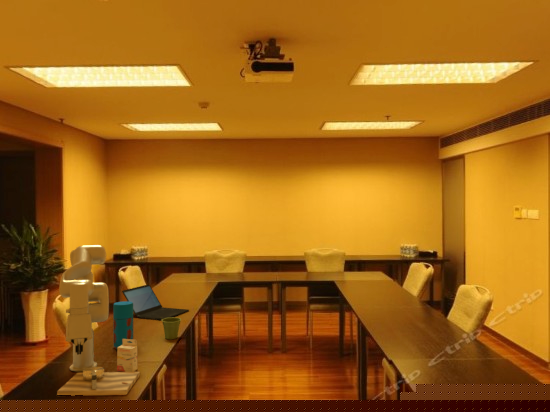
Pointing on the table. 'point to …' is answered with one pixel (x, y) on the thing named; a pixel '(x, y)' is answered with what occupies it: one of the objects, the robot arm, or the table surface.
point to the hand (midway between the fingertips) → (79, 353)
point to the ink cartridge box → (127, 356)
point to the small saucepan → (93, 375)
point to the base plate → (100, 384)
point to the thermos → (122, 322)
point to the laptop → (149, 304)
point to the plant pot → (171, 327)
